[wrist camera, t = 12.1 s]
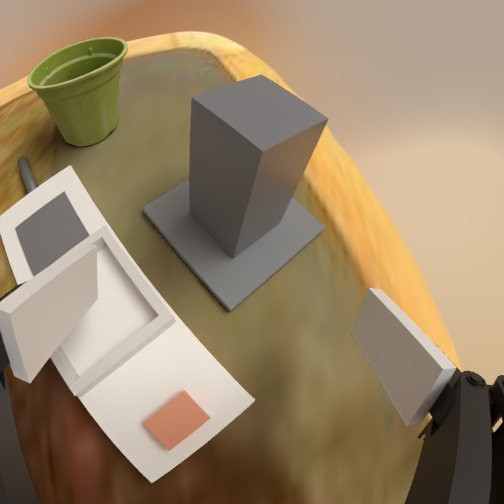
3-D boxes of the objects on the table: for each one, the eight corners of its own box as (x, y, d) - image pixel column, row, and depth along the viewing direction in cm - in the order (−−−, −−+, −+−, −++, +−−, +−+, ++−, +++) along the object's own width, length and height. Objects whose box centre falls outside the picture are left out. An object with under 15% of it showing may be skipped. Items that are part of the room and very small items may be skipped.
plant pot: (141, 142, 24) (133, 62, 17) (49, 173, 21) (18, 101, 14) (128, 95, 28) (123, 30, 20) (53, 119, 24) (35, 57, 17)
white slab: (-4, 191, 19) (-18, 171, 16) (58, 147, 23) (49, 123, 20) (156, 474, 13) (148, 489, 10) (249, 399, 16) (259, 400, 14)
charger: (188, 212, 21) (190, 96, 12) (236, 181, 23) (260, 74, 14) (233, 259, 20) (262, 151, 11) (280, 222, 22) (328, 118, 13)
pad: (143, 212, 21) (142, 207, 20) (239, 155, 25) (240, 151, 25) (229, 312, 19) (230, 309, 18) (322, 231, 23) (325, 227, 23)
